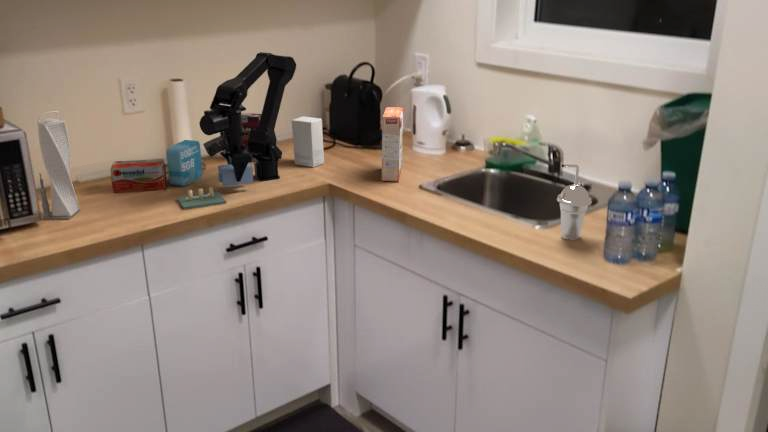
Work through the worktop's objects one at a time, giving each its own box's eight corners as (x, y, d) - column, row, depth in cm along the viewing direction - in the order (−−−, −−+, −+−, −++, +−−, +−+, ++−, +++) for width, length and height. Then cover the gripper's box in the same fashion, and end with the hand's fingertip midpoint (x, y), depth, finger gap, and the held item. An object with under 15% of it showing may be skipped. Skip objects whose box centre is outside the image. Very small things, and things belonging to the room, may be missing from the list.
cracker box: (400, 182, 221) (401, 116, 214) (380, 181, 222) (381, 116, 214) (403, 169, 234) (404, 106, 227) (384, 168, 235) (385, 106, 227)
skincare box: (324, 163, 240) (323, 118, 234) (312, 168, 234) (311, 122, 229) (305, 159, 244) (303, 115, 238) (292, 164, 239) (291, 119, 233)
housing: (248, 177, 217) (247, 162, 215) (253, 182, 212) (252, 166, 211) (219, 181, 213) (217, 165, 211) (223, 186, 209) (222, 170, 207)
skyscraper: (57, 208, 198) (40, 109, 188) (86, 208, 198) (70, 110, 188) (43, 219, 190) (24, 117, 180) (72, 219, 190) (56, 117, 180)
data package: (182, 187, 215) (178, 149, 211) (169, 186, 217) (165, 148, 212) (203, 176, 226) (199, 139, 222) (190, 174, 227) (187, 138, 223)
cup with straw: (592, 242, 178) (601, 166, 170) (557, 243, 177) (564, 166, 170) (580, 229, 185) (589, 156, 178) (547, 230, 185) (554, 156, 178)
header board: (218, 194, 210) (217, 181, 209) (226, 203, 202) (225, 190, 201) (177, 199, 205) (176, 187, 204) (183, 209, 198) (182, 196, 196)
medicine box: (167, 182, 221) (164, 157, 218) (165, 190, 213) (163, 165, 210) (116, 185, 218) (112, 160, 215) (113, 194, 210) (109, 168, 207)
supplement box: (237, 161, 242) (234, 115, 236) (242, 157, 246) (239, 112, 241) (261, 162, 240) (258, 116, 235) (266, 158, 245) (263, 113, 239)
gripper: (197, 123, 211) (202, 173, 217) (212, 138, 196) (216, 191, 201) (234, 120, 216) (237, 169, 221) (251, 134, 200) (254, 186, 206)
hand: (236, 178), depth 212 cm, fingers closed on housing, 5 cm apart
